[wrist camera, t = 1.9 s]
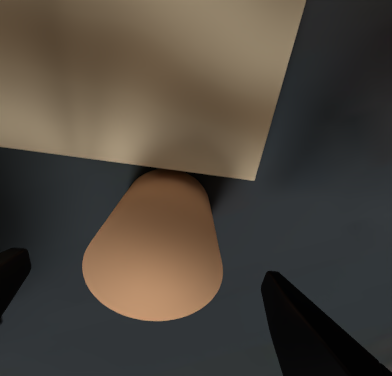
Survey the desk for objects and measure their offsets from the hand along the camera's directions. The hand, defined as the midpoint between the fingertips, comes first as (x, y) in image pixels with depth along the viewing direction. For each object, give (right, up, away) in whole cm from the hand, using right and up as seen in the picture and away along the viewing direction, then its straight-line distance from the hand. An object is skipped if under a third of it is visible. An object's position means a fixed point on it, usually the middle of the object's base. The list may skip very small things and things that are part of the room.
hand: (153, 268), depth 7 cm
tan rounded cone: (0, +2, +4) cm, 5 cm away
